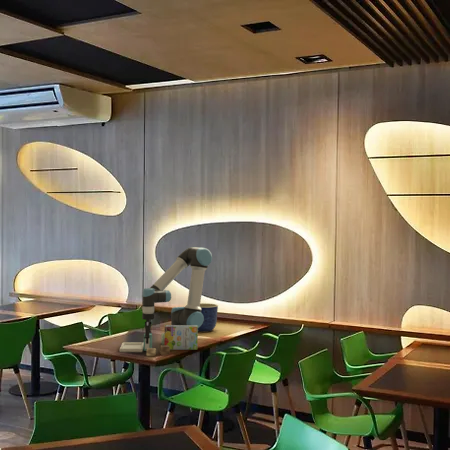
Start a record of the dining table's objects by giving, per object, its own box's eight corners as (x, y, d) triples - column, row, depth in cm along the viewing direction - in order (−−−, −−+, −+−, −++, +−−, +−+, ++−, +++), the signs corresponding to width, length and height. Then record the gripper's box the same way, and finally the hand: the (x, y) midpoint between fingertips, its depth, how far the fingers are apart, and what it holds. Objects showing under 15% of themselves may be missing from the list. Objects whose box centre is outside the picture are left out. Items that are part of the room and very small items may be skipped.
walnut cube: (167, 353, 381) (167, 345, 381) (169, 354, 377) (169, 346, 377) (159, 353, 380) (159, 345, 380) (161, 355, 375) (161, 347, 375)
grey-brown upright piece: (170, 343, 410) (170, 333, 410) (170, 345, 404) (170, 334, 404) (161, 343, 410) (161, 333, 410) (161, 345, 404) (161, 334, 404)
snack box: (197, 348, 397) (197, 324, 397) (197, 350, 391) (197, 326, 391) (164, 347, 396) (165, 324, 396) (164, 349, 391) (164, 326, 390)
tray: (144, 345, 402) (144, 342, 402) (142, 352, 382) (142, 348, 382) (122, 345, 401) (122, 342, 401) (119, 352, 381) (119, 348, 381)
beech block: (156, 354, 376) (156, 348, 376) (154, 356, 372) (154, 349, 372) (148, 354, 377) (148, 347, 377) (146, 355, 373) (146, 349, 373)
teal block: (151, 349, 392) (152, 333, 392) (151, 350, 387) (151, 334, 387) (144, 349, 392) (144, 333, 392) (143, 350, 387) (143, 334, 387)
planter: (221, 332, 454) (222, 306, 454) (195, 333, 446) (195, 307, 446) (211, 327, 473) (212, 302, 473) (186, 328, 466) (186, 303, 465)
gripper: (143, 309, 401) (143, 342, 401) (141, 315, 377) (140, 350, 377) (155, 309, 402) (154, 342, 402) (153, 315, 377) (152, 350, 377)
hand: (147, 346), depth 389 cm, fingers open, 12 cm apart
